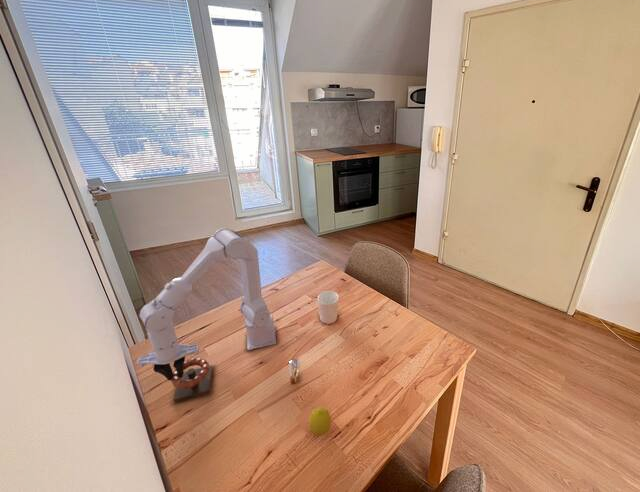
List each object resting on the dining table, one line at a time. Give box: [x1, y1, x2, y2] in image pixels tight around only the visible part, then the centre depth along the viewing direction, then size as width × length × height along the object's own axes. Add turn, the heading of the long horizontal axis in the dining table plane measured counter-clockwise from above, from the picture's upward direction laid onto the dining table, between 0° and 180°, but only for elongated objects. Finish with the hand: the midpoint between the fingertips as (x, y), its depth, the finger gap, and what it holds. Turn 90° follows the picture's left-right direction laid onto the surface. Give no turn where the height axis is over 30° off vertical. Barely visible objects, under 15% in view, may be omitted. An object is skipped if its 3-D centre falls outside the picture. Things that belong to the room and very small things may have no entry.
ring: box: [288, 357, 301, 385], centre depth 89 cm, size 7×3×8 cm, turn 174°
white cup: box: [317, 290, 339, 325], centre depth 113 cm, size 8×8×10 cm
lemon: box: [308, 406, 332, 437], centre depth 75 cm, size 6×6×8 cm
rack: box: [173, 365, 213, 403], centre depth 87 cm, size 9×9×6 cm
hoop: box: [170, 357, 210, 389], centre depth 86 cm, size 10×10×2 cm
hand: (176, 376), depth 85 cm, fingers closed on hoop, 2 cm apart
